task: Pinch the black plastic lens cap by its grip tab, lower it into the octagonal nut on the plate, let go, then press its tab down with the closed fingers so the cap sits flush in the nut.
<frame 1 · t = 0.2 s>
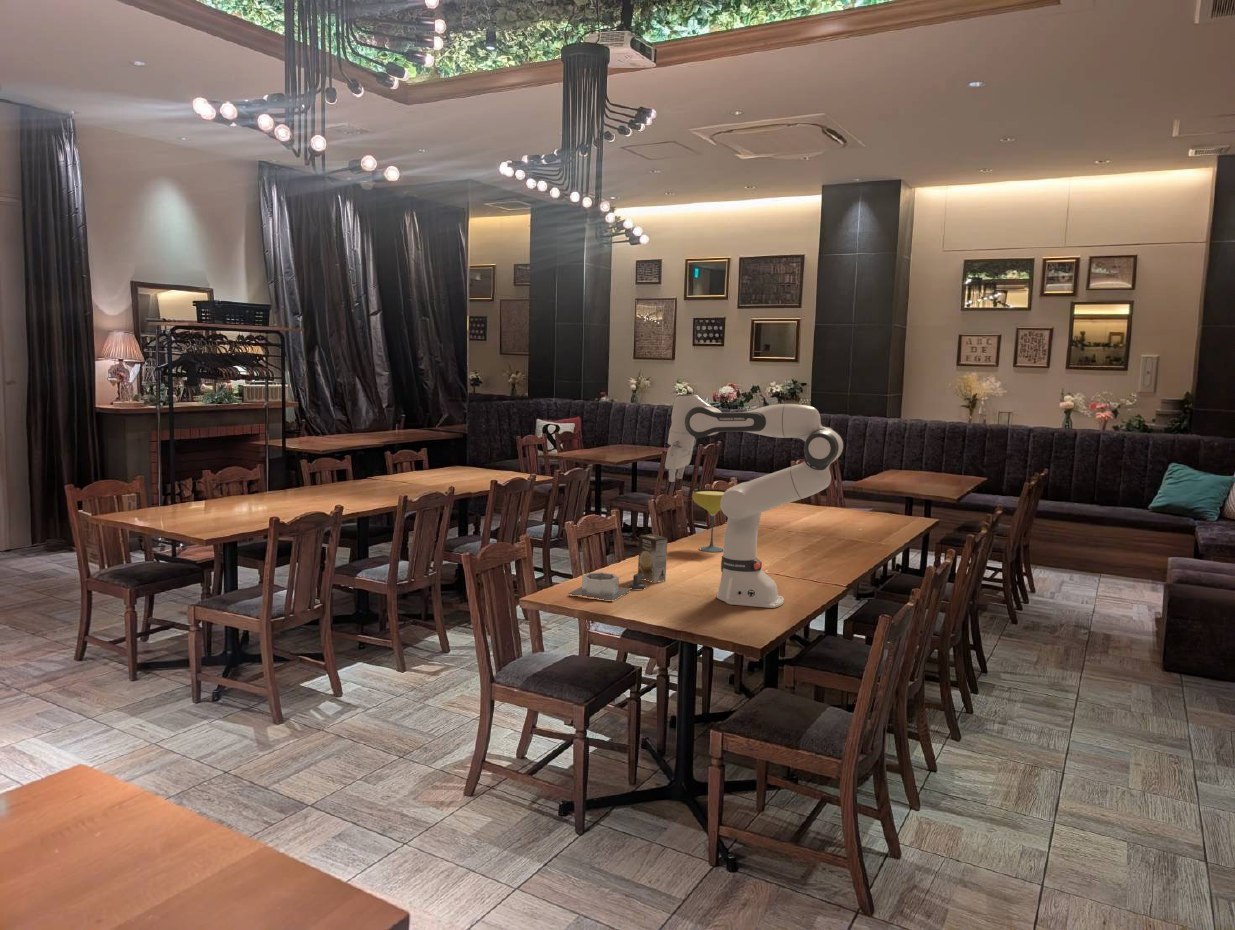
hand: (675, 480, 301), 39 cm above the table, tool pointing down, fingers open, 8 cm apart
cap: (637, 588, 306), on the table
octagonal nut on plate: (600, 593, 296), on the table
coffee box: (651, 580, 319), on the table
cocktail glass: (711, 550, 376), on the table
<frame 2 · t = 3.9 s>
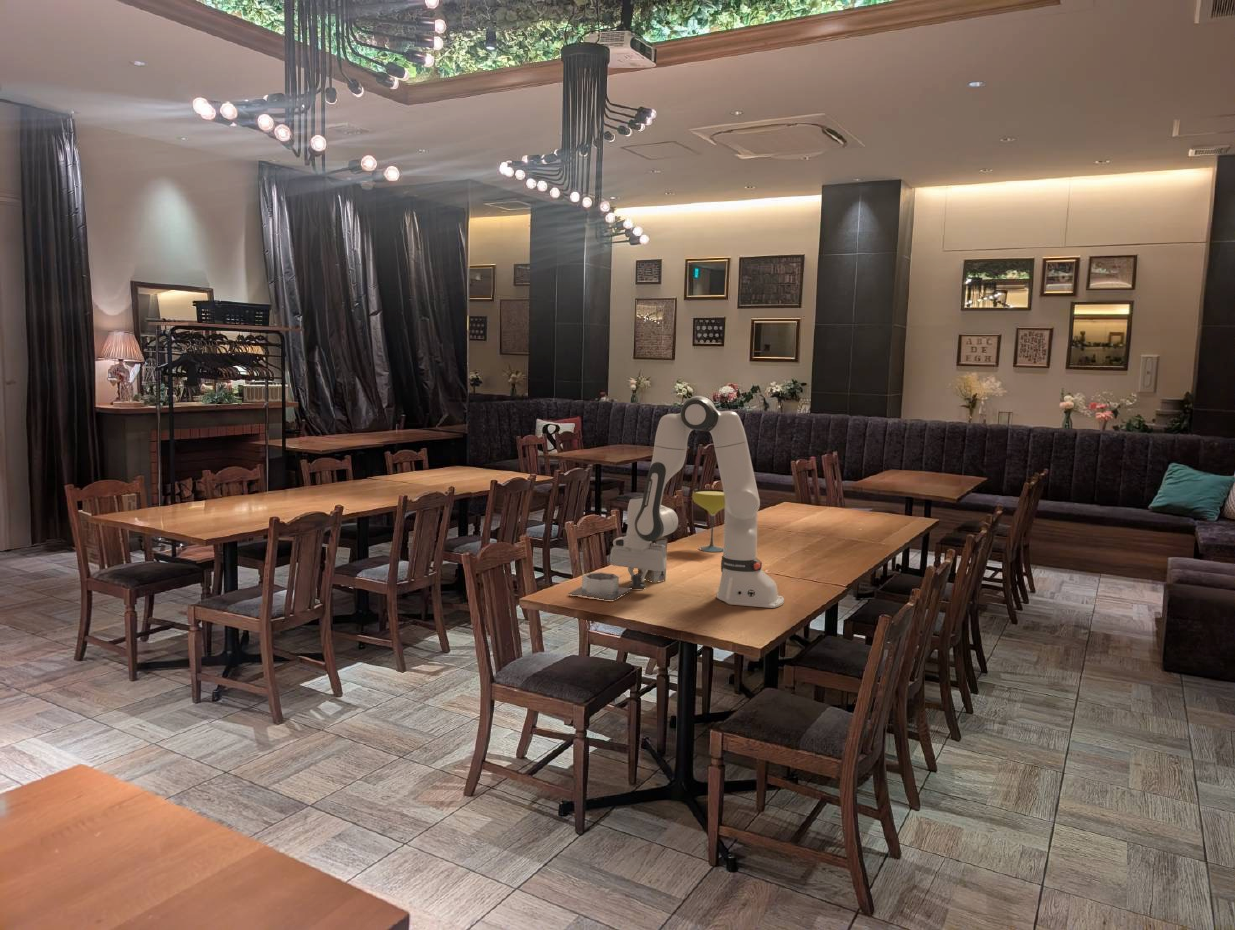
hand: (637, 580, 306), 3 cm above the table, tool pointing down, fingers closed on cap, 2 cm apart
cap: (637, 588, 306), on the table, touching gripper
everything else where it was.
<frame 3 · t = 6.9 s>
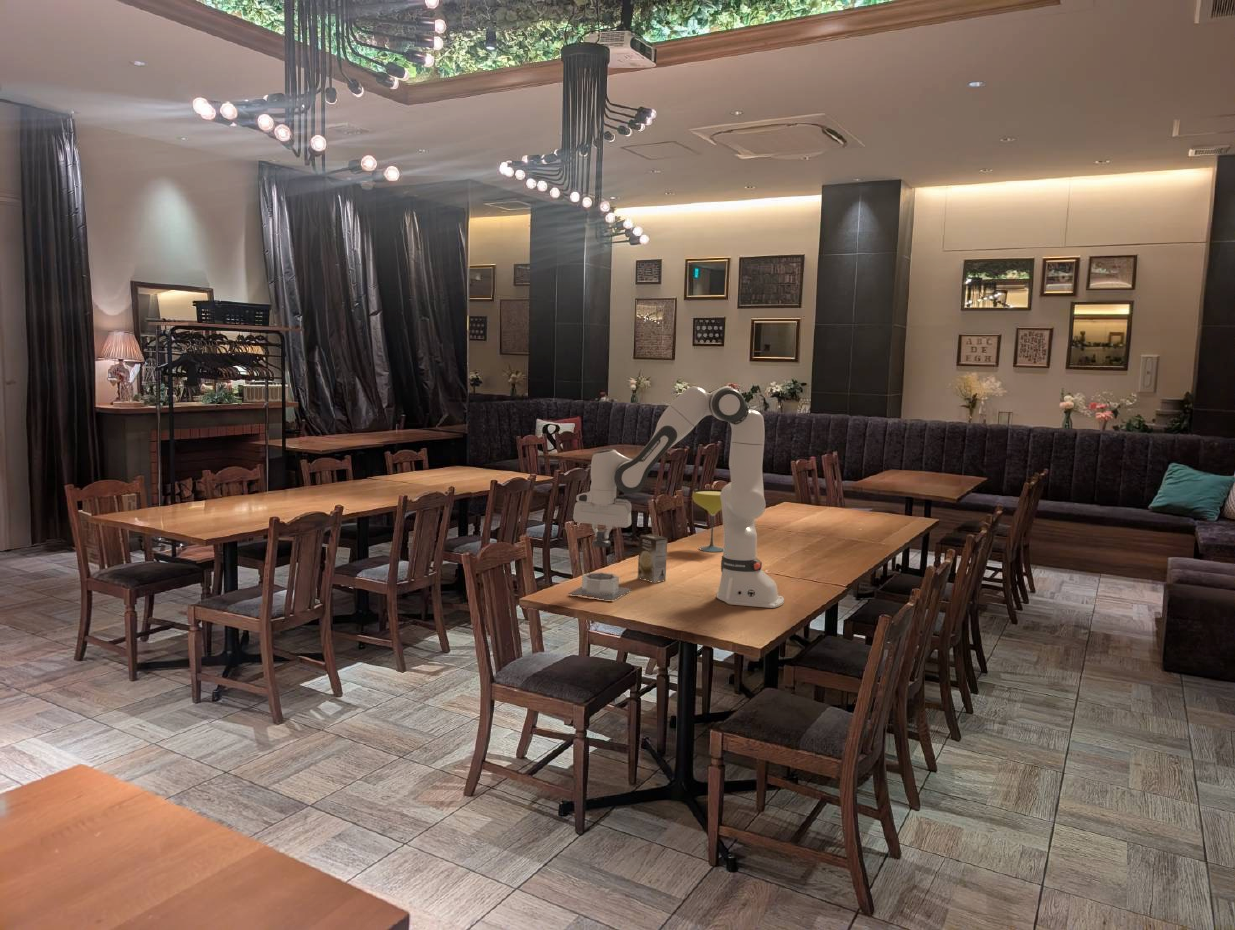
hand: (601, 537, 294), 19 cm above the table, tool pointing down, fingers closed on cap
cap: (601, 545, 295), point 17 cm above the table, touching gripper
everything else where it was.
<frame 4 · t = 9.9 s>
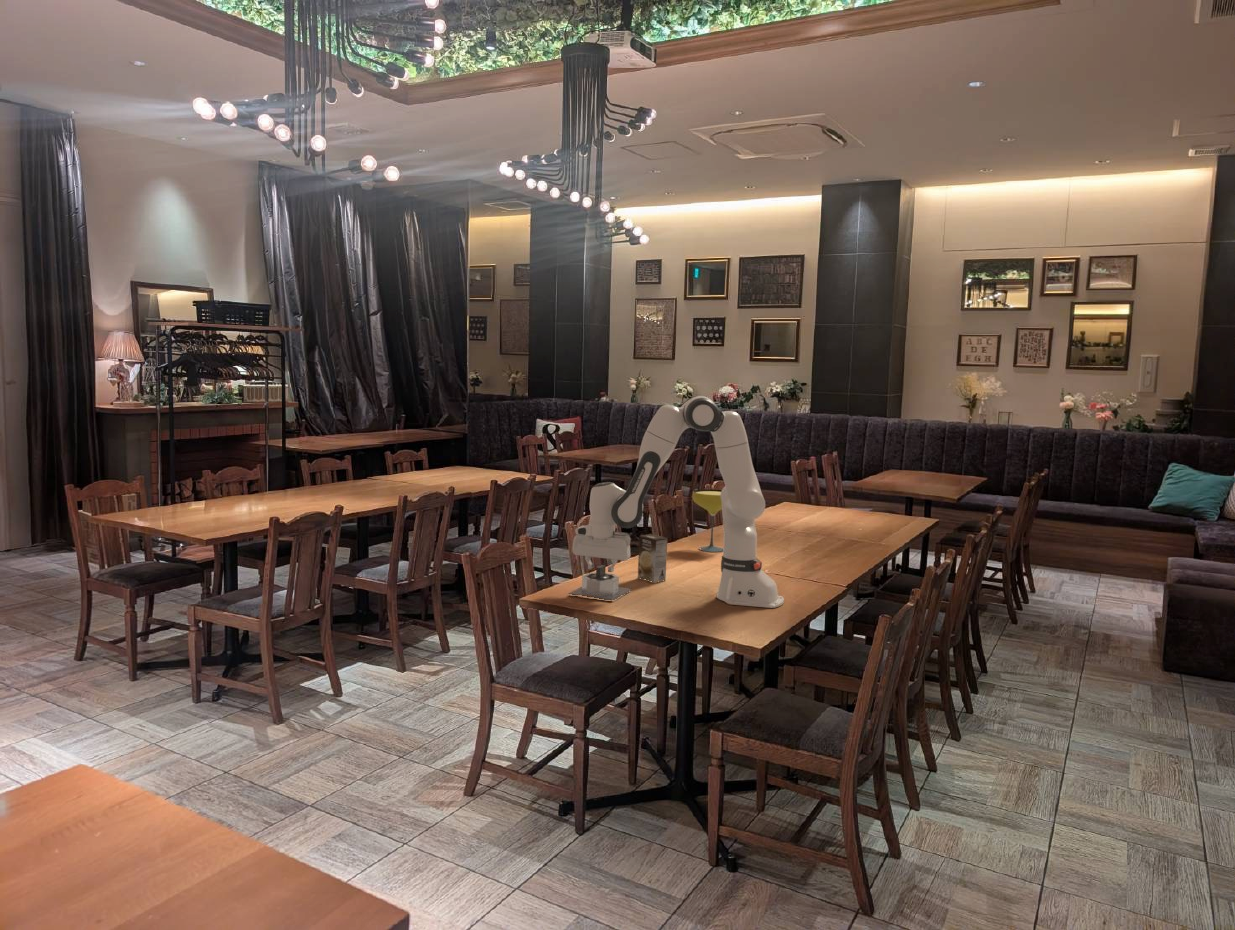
hand: (600, 570, 296), 8 cm above the table, tool pointing down, fingers open, 6 cm apart
cap: (600, 580, 296), point 5 cm above the table, touching octagonal nut on plate
everything else where it was.
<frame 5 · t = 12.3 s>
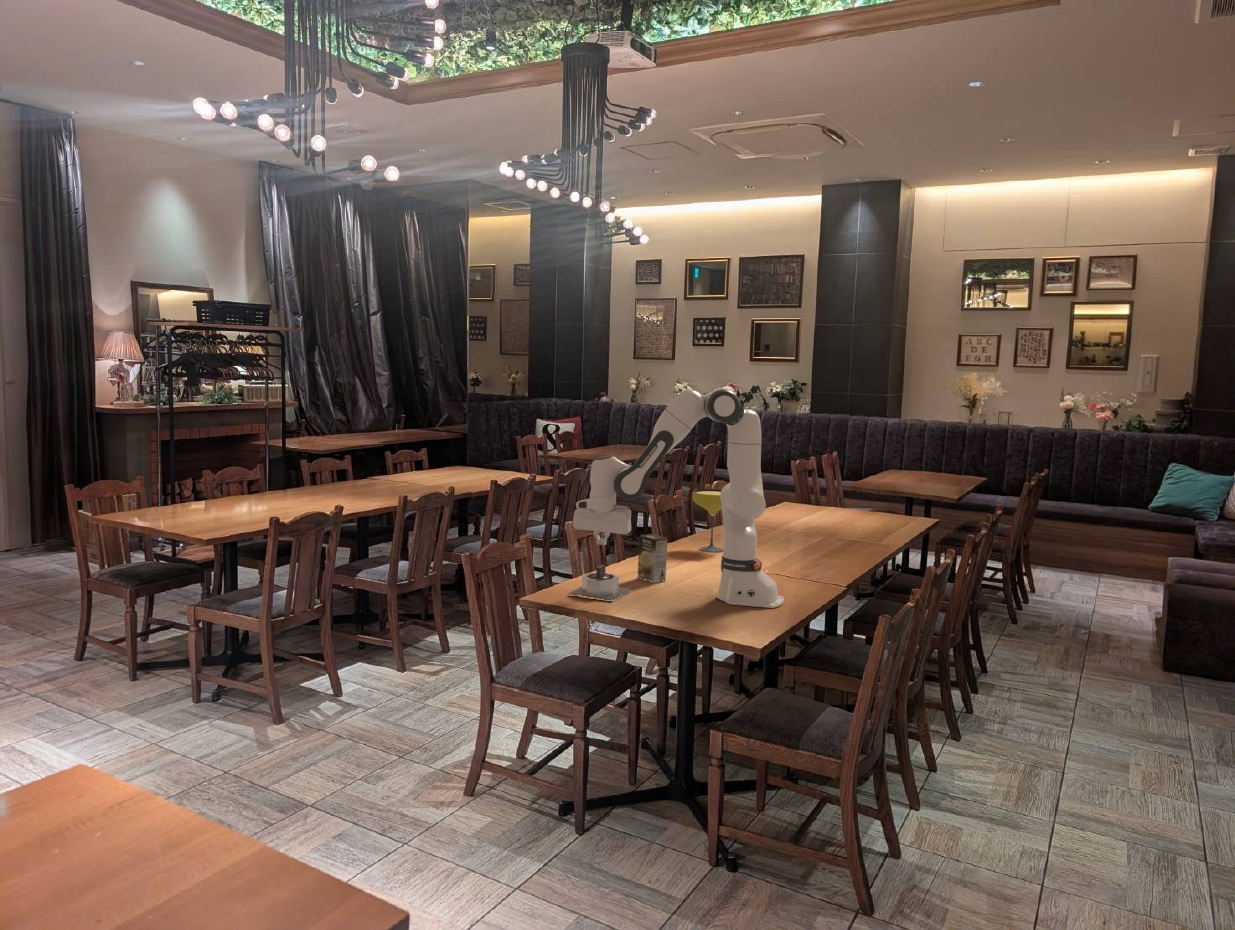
hand: (601, 544, 295), 17 cm above the table, tool pointing down, fingers closed
nothing on the table moved.
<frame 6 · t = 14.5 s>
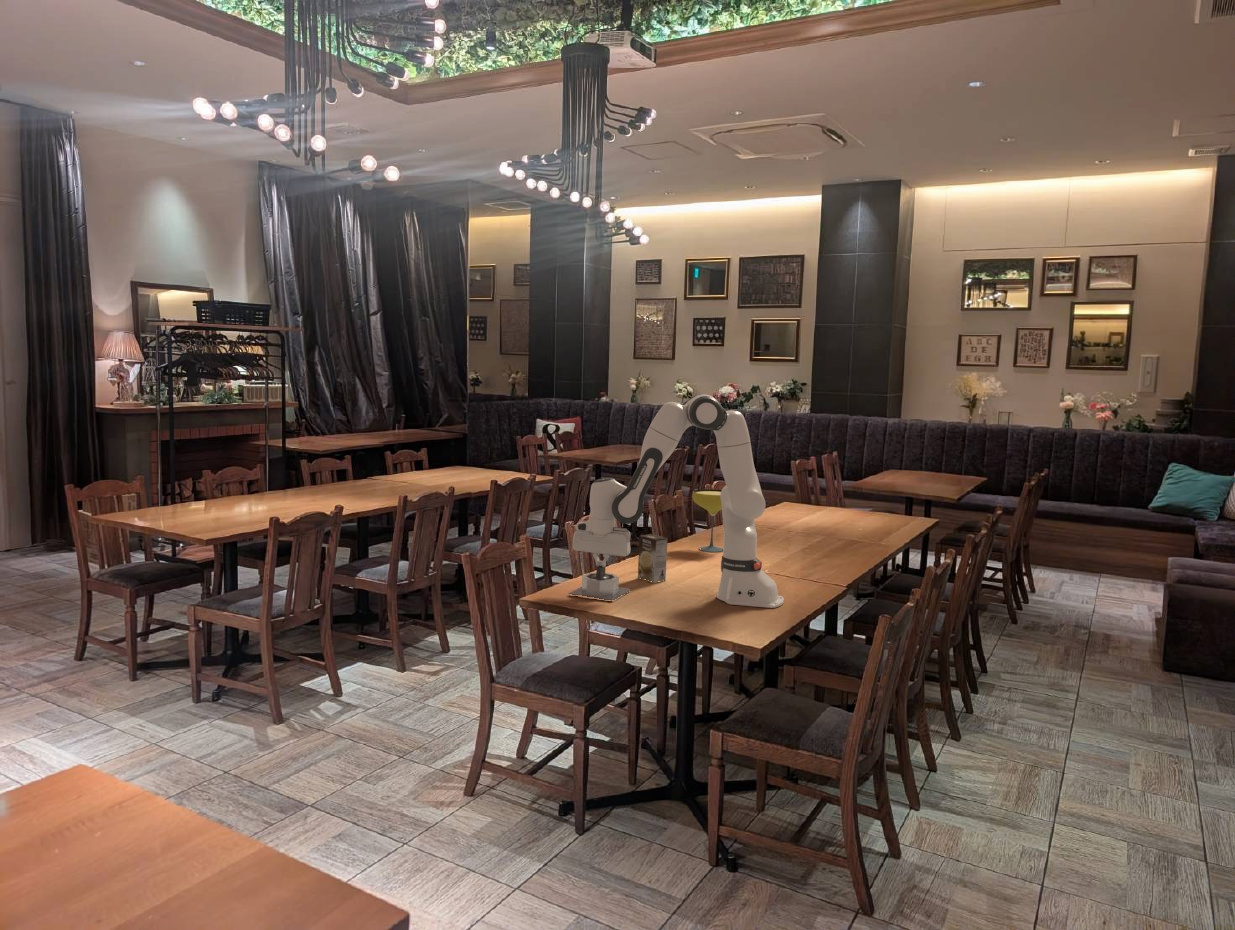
hand: (600, 566, 295), 10 cm above the table, tool pointing down, fingers closed, pressing on cap
cap: (600, 580, 296), point 4 cm above the table, touching octagonal nut on plate, gripper
everything else where it was.
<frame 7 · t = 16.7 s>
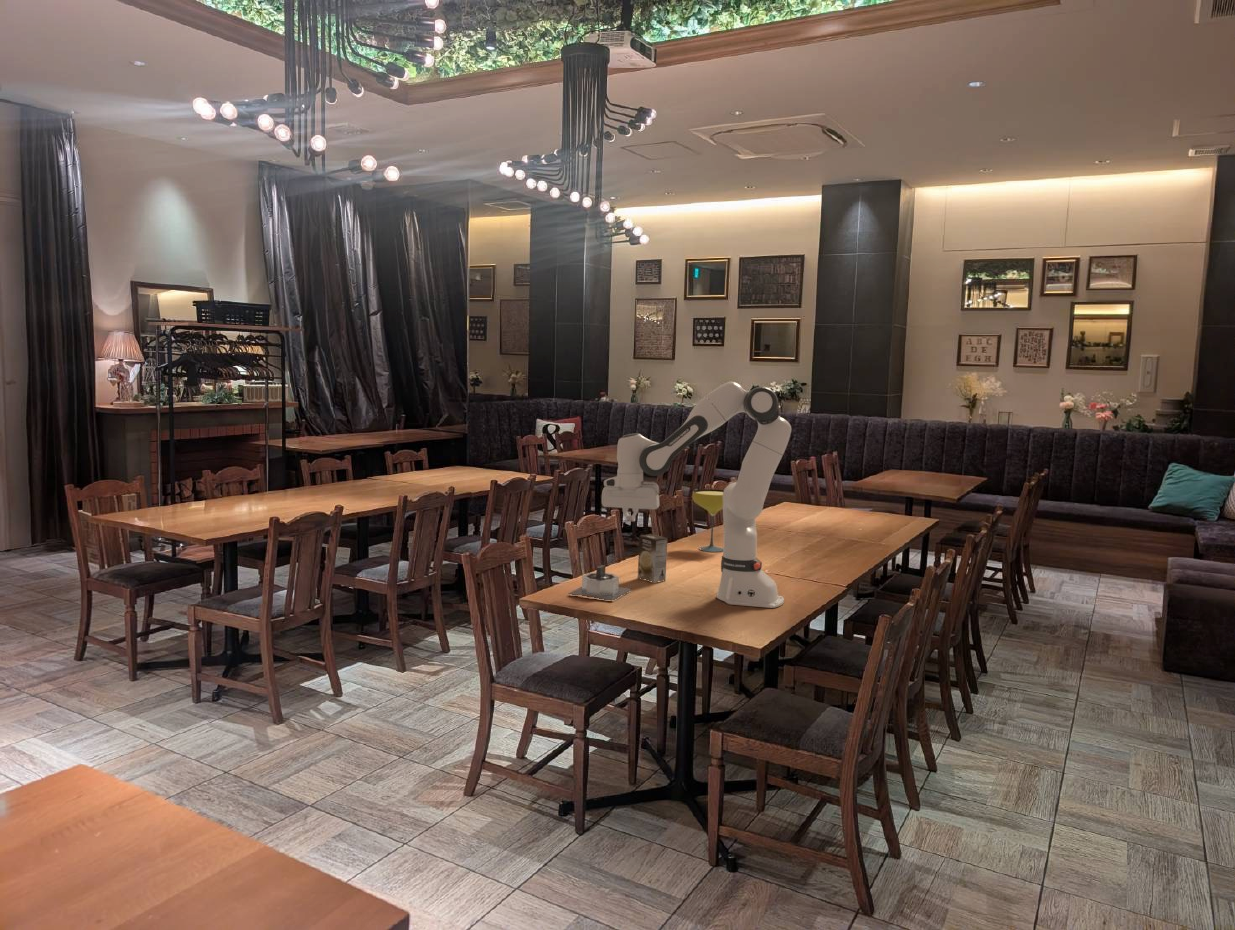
hand: (630, 521, 300), 24 cm above the table, tool pointing down, fingers closed
cap: (600, 580, 296), point 4 cm above the table, touching octagonal nut on plate
everything else where it was.
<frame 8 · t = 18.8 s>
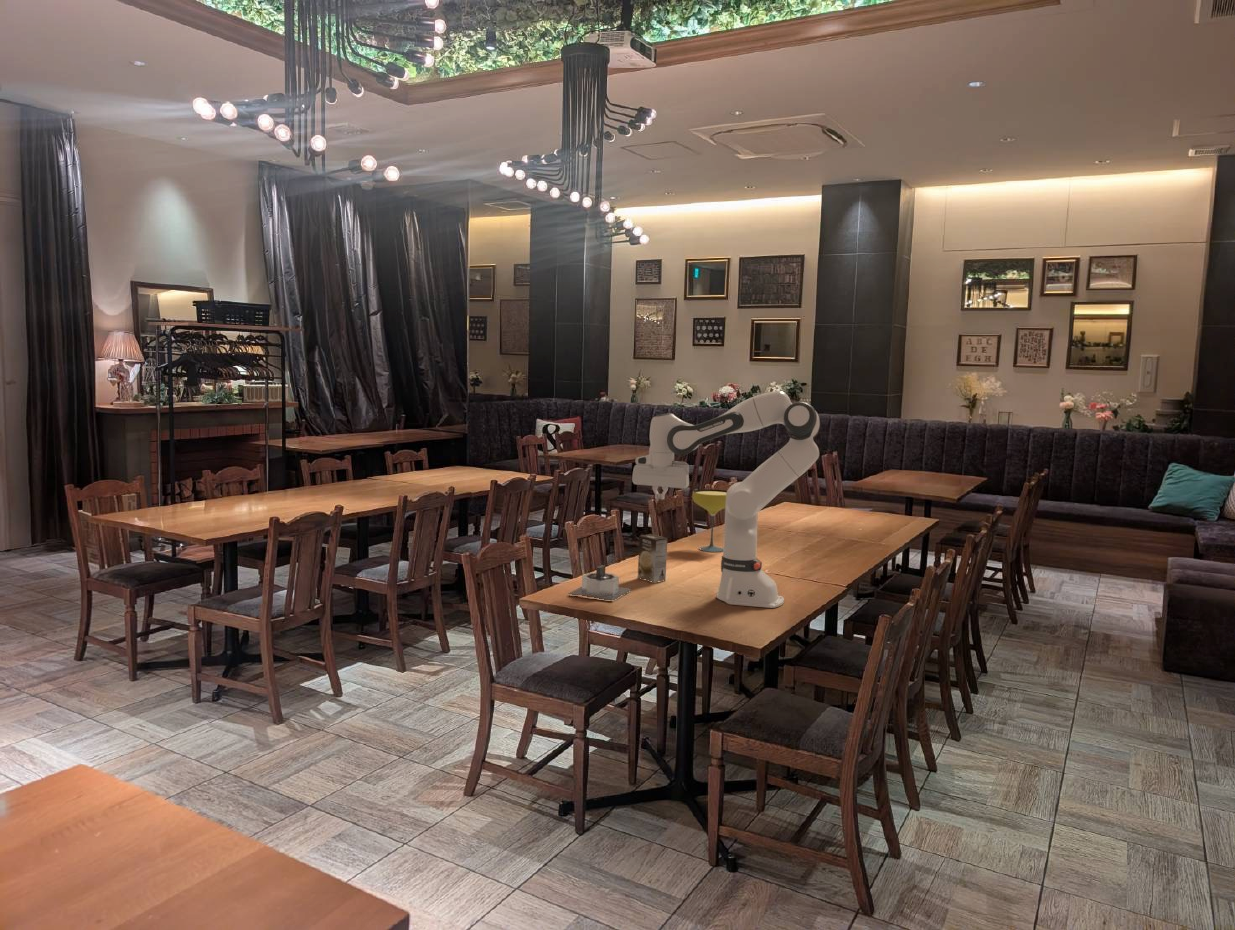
hand: (659, 499, 306), 31 cm above the table, tool pointing down, fingers closed
nothing on the table moved.
at the end: cap 0.1 cm off-centre on the octagonal nut on plate, point 4.5 cm above the octagonal nut on plate's base; cap tilted 0°; the gripper is holding nothing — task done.
